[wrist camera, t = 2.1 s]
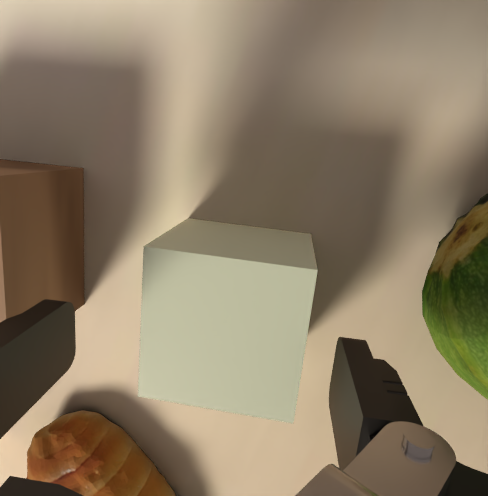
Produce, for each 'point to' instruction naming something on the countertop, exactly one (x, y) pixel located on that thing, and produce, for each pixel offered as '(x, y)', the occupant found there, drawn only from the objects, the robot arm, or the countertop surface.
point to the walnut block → (40, 235)
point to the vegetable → (461, 297)
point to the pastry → (93, 458)
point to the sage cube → (226, 317)
